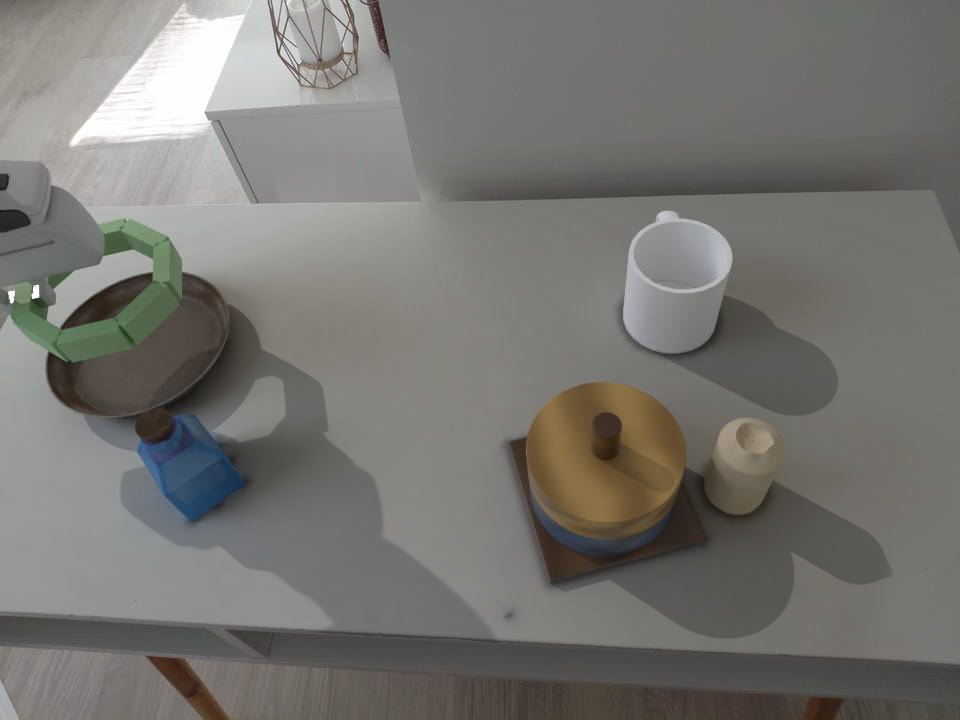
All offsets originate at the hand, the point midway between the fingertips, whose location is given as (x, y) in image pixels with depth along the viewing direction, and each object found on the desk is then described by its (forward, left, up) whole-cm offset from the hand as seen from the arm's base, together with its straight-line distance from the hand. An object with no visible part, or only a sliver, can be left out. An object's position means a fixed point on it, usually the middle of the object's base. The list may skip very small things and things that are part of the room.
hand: (33, 305), depth 78 cm
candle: (+63, -34, -12) cm, 72 cm away
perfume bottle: (+13, -19, -12) cm, 25 cm away
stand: (+51, -31, -12) cm, 60 cm away
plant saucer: (+7, 0, -12) cm, 14 cm away
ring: (+7, 0, 0) cm, 7 cm away
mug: (+65, -12, -12) cm, 67 cm away
